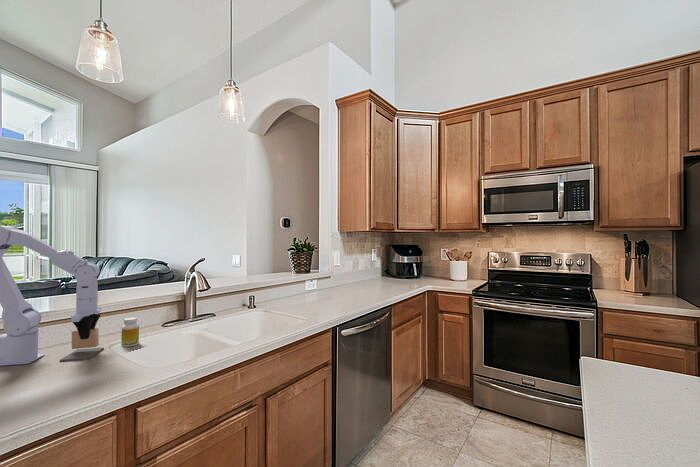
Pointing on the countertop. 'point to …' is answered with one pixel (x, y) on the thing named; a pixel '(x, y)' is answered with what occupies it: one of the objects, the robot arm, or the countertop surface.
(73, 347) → the light wood block
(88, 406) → the countertop surface
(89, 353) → the mat
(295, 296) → the countertop surface
